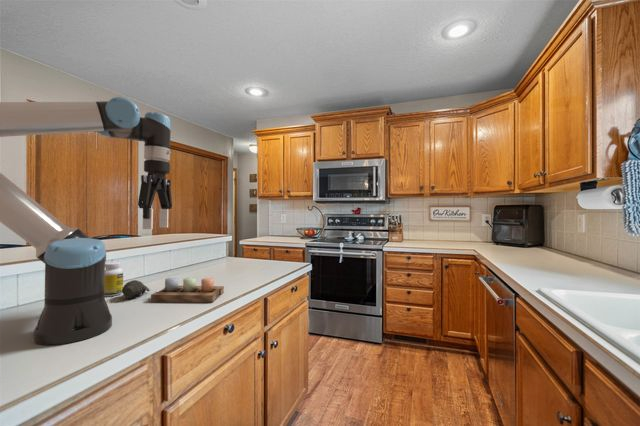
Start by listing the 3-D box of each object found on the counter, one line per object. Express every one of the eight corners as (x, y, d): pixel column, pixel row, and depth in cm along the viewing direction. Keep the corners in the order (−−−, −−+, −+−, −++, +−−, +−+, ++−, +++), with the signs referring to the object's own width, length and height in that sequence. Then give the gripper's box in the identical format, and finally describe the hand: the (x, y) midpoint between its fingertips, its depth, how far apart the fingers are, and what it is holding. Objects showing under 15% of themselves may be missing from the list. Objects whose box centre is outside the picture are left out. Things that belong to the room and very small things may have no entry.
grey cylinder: (174, 291, 101) (174, 280, 101) (162, 291, 101) (162, 280, 101) (180, 288, 105) (180, 277, 105) (168, 288, 105) (168, 277, 105)
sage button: (192, 291, 101) (193, 280, 101) (181, 291, 101) (181, 280, 101) (197, 288, 105) (197, 278, 105) (186, 288, 105) (186, 277, 105)
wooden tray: (223, 292, 109) (223, 286, 109) (212, 302, 97) (212, 295, 97) (168, 292, 109) (168, 285, 109) (150, 302, 97) (150, 294, 97)
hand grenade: (144, 292, 98) (154, 286, 110) (128, 278, 97) (140, 274, 109) (129, 306, 97) (142, 298, 108) (113, 292, 96) (127, 286, 107)
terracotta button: (211, 292, 101) (211, 281, 101) (199, 292, 101) (199, 280, 101) (215, 288, 105) (215, 278, 105) (203, 288, 105) (204, 278, 105)
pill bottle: (114, 297, 101) (114, 265, 101) (96, 297, 101) (97, 264, 101) (127, 292, 107) (127, 261, 107) (110, 291, 108) (110, 261, 107)
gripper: (150, 154, 84) (148, 230, 84) (183, 166, 106) (182, 226, 106) (124, 154, 84) (122, 230, 84) (163, 166, 105) (161, 226, 105)
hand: (156, 228), depth 95 cm, fingers open, 9 cm apart
